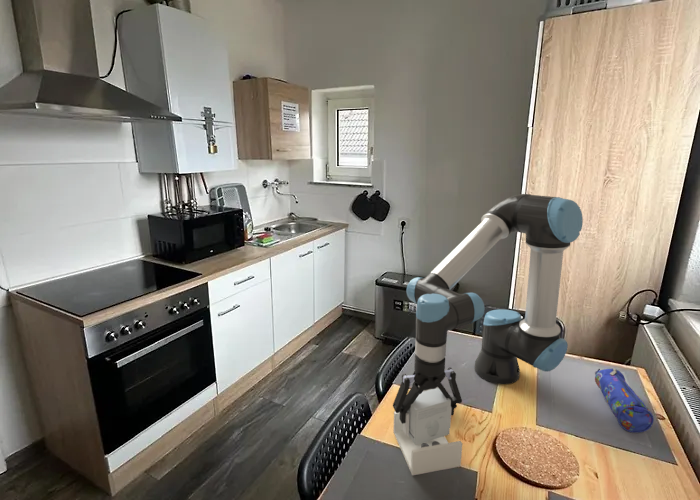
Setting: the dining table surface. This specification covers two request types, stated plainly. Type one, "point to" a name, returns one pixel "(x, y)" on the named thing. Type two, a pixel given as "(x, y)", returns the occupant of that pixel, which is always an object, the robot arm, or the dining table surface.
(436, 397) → the skincare box
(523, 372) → the dining table surface
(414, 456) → the peg frame
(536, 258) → the robot arm
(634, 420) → the pencil case
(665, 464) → the dining table surface
